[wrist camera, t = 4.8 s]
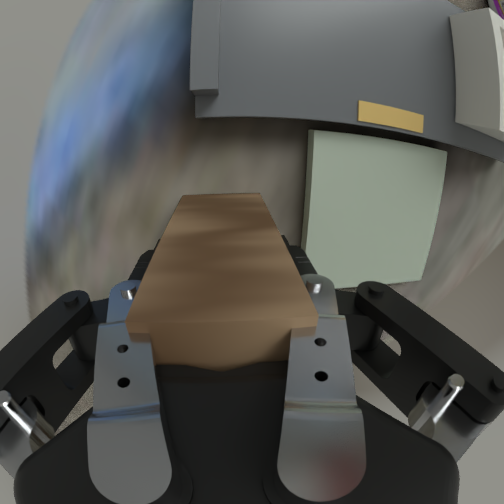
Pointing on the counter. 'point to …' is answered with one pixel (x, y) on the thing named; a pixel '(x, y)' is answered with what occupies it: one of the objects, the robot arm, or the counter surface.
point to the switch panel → (332, 65)
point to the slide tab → (479, 70)
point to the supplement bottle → (497, 7)
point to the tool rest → (370, 207)
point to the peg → (221, 287)
